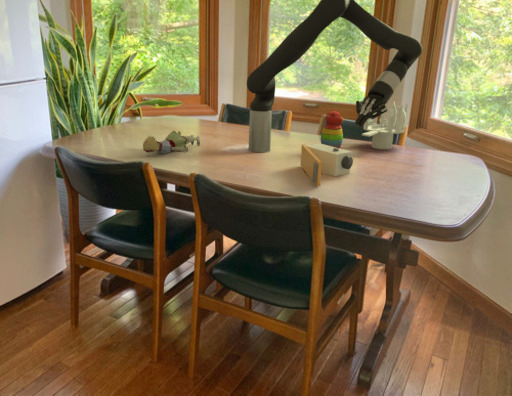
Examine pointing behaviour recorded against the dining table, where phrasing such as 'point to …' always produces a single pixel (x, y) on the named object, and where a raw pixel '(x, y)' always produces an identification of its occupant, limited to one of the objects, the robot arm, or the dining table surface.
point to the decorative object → (386, 127)
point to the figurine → (169, 143)
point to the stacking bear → (332, 130)
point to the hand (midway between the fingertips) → (357, 125)
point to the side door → (311, 165)
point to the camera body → (332, 159)
